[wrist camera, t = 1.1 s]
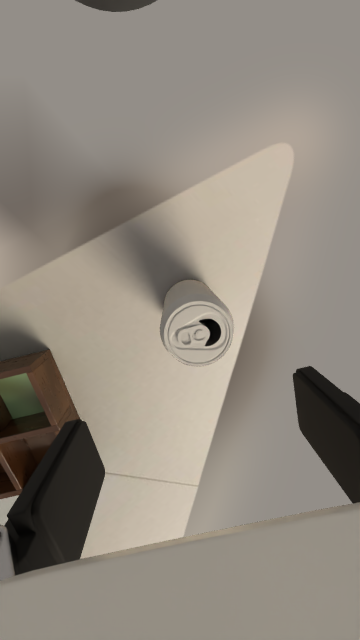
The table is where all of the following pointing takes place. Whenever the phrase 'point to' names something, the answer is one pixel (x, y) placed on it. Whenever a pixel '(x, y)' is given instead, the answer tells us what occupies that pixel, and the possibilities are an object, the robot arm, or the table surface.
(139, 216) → the table surface
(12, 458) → the tray
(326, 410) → the robot arm
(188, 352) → the beverage can
